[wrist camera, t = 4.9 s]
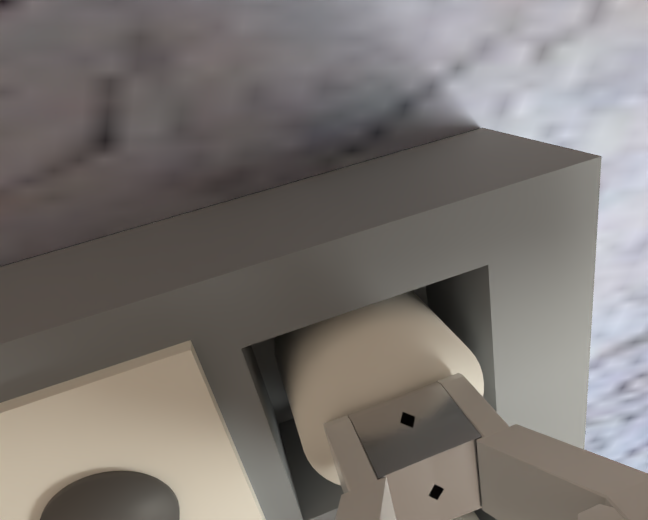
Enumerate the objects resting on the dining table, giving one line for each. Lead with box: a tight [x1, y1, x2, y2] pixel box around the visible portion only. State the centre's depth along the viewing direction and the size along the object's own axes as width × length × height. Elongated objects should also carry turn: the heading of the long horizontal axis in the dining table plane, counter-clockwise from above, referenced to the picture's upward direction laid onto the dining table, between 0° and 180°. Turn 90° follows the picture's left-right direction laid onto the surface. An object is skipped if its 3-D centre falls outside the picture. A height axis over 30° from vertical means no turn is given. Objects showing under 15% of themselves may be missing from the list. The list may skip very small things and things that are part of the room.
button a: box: [274, 291, 484, 485], centre depth 11 cm, size 4×4×3 cm
